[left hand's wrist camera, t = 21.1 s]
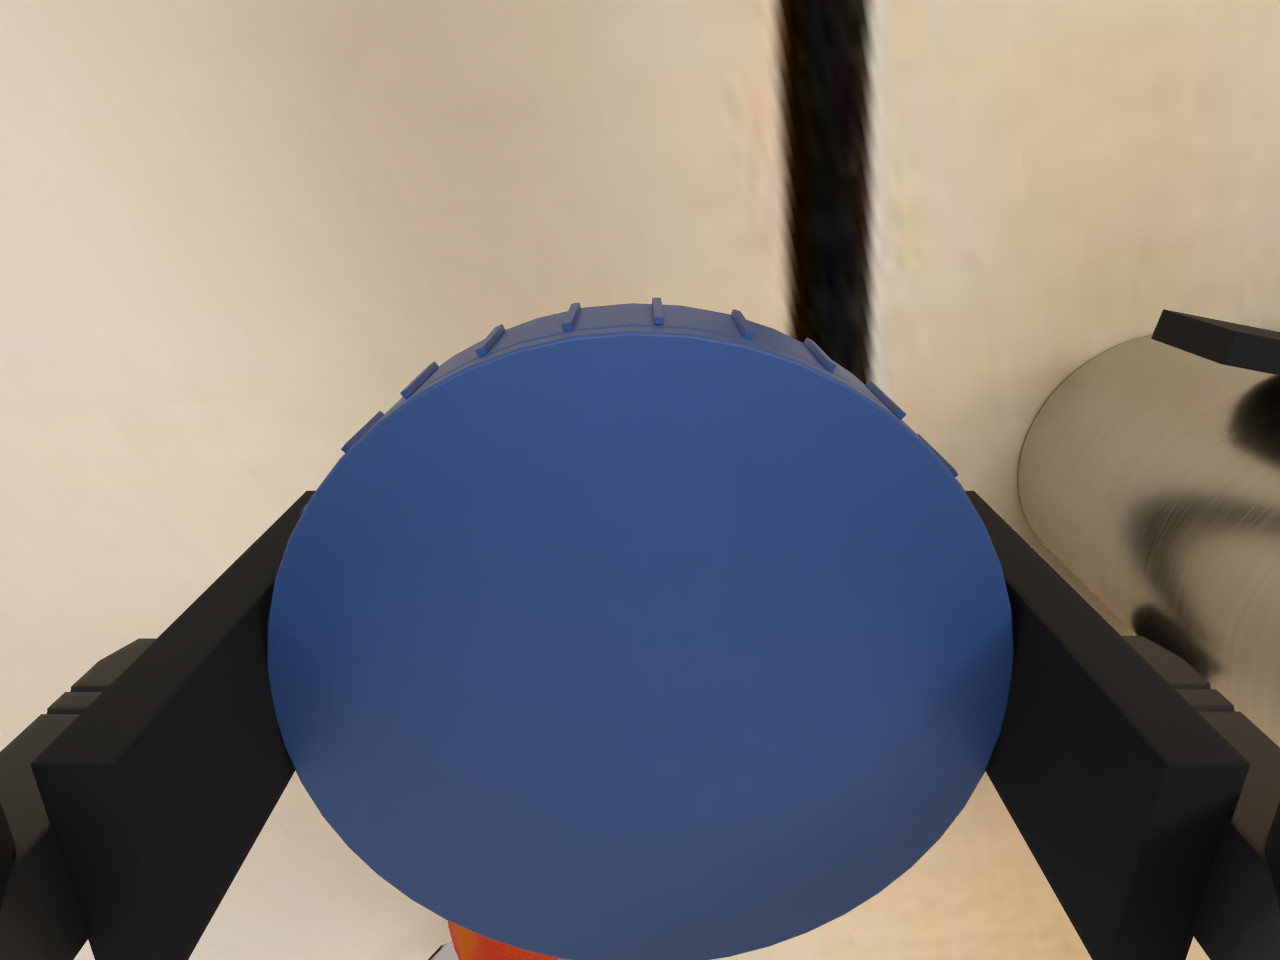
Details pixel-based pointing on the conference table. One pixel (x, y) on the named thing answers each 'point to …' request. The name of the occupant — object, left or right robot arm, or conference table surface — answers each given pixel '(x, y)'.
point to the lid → (640, 638)
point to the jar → (1170, 507)
